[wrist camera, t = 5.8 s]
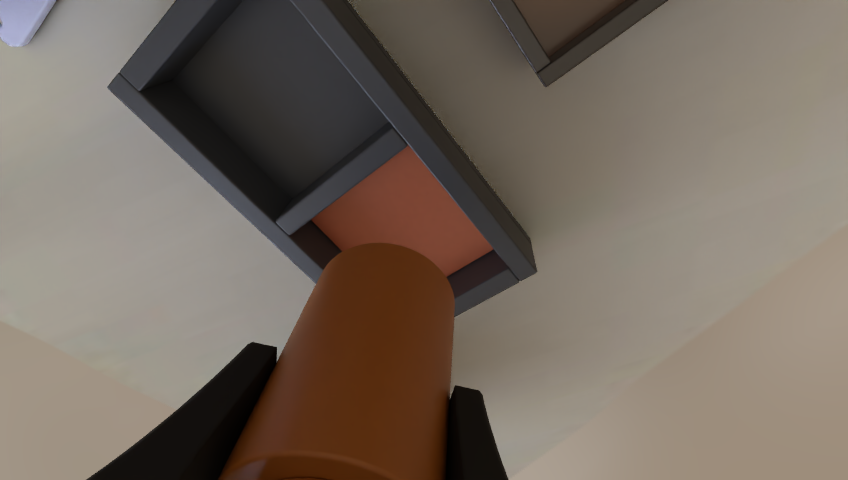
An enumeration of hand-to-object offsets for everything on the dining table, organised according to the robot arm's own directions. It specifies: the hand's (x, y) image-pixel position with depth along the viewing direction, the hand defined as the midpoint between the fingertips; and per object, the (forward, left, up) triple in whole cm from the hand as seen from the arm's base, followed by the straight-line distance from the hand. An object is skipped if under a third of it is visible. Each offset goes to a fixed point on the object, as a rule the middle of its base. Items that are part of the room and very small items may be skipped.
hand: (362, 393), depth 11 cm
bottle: (0, 0, -4) cm, 4 cm away
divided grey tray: (-3, 0, -9) cm, 10 cm away
